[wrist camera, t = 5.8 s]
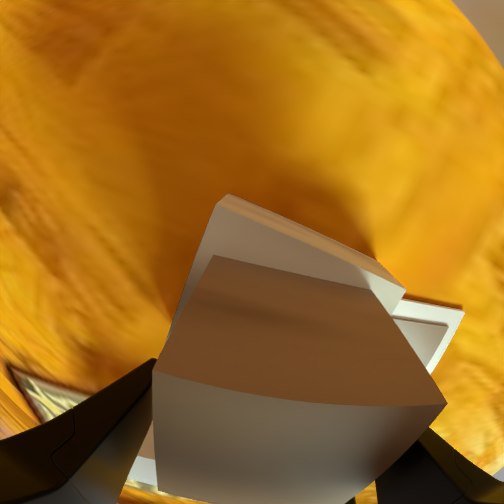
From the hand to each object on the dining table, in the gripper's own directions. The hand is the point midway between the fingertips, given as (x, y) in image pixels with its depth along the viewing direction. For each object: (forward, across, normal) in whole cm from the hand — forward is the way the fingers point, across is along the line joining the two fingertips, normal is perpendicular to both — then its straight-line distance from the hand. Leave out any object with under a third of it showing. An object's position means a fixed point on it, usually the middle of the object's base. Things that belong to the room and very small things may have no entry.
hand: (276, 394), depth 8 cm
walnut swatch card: (+6, -9, +2) cm, 11 cm away
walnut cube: (+3, 0, 0) cm, 3 cm away
